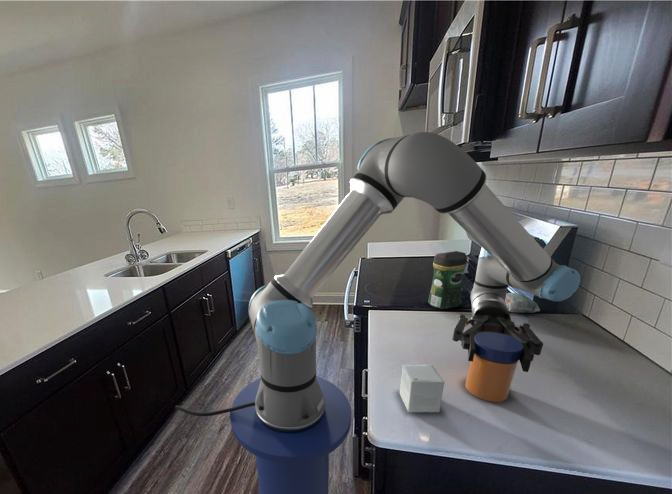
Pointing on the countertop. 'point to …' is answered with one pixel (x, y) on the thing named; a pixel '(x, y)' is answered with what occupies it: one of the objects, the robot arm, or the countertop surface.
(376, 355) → the countertop surface
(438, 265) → the coffee jar
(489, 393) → the jam jar
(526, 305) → the packaged food
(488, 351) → the lid
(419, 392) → the product box
